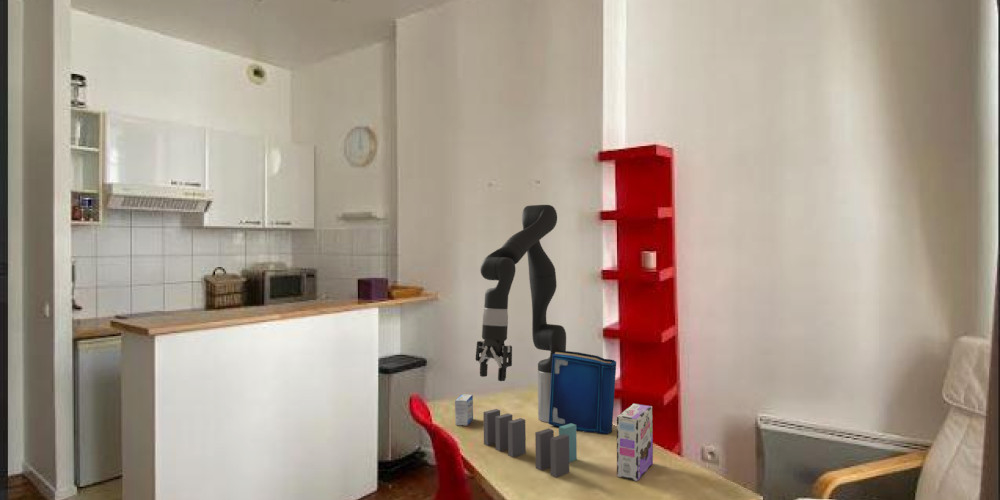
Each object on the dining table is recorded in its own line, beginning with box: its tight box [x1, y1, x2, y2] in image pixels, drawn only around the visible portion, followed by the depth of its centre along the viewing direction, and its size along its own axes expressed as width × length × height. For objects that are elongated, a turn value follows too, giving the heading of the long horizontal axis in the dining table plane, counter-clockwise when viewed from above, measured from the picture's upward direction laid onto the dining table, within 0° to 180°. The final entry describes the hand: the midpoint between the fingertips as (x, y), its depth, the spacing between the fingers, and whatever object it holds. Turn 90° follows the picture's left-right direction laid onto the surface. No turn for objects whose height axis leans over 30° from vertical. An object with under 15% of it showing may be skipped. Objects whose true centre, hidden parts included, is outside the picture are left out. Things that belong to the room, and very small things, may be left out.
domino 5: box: [558, 423, 578, 463], centre depth 160 cm, size 5×2×10 cm, turn 128°
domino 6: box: [550, 434, 570, 479], centre depth 151 cm, size 5×2×10 cm, turn 128°
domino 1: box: [483, 408, 501, 447], centre depth 174 cm, size 5×2×10 cm, turn 128°
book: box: [548, 350, 617, 436], centre depth 187 cm, size 22×7×25 cm, turn 64°
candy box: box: [616, 403, 654, 482], centre depth 153 cm, size 14×6×16 cm, turn 148°
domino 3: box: [507, 417, 527, 458], centre depth 165 cm, size 5×2×10 cm, turn 128°
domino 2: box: [495, 412, 513, 452], centre depth 170 cm, size 5×2×10 cm, turn 128°
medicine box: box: [454, 394, 474, 426], centre depth 195 cm, size 8×4×9 cm, turn 168°
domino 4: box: [534, 427, 555, 471], centre depth 156 cm, size 5×2×10 cm, turn 128°
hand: (492, 378), depth 167 cm, fingers open, 8 cm apart
